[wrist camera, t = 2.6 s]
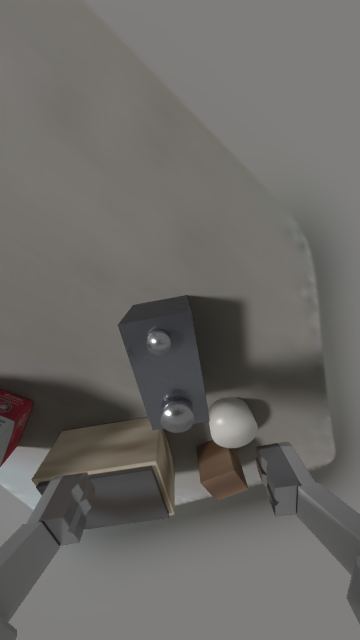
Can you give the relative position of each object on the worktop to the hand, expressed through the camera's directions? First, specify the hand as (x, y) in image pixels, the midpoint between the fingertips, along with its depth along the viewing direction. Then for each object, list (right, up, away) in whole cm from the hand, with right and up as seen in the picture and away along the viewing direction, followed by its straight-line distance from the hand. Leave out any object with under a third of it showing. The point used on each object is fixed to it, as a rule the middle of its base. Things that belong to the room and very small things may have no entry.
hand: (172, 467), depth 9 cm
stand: (-7, -9, +15) cm, 19 cm away
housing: (-1, +4, +10) cm, 11 cm away
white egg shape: (+6, -4, +13) cm, 15 cm away
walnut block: (+5, -10, +15) cm, 19 cm away
